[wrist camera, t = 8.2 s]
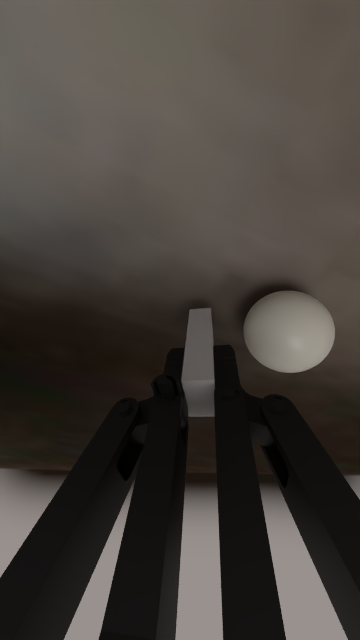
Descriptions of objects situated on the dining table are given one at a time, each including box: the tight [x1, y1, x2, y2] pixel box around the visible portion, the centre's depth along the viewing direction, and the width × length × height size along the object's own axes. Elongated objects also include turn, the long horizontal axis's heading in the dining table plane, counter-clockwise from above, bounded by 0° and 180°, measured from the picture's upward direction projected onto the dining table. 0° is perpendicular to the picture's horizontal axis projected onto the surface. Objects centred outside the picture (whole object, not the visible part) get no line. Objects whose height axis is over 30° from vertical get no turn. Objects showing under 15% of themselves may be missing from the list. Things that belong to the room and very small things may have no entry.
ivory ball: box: [243, 290, 335, 373], centre depth 15 cm, size 6×6×6 cm
